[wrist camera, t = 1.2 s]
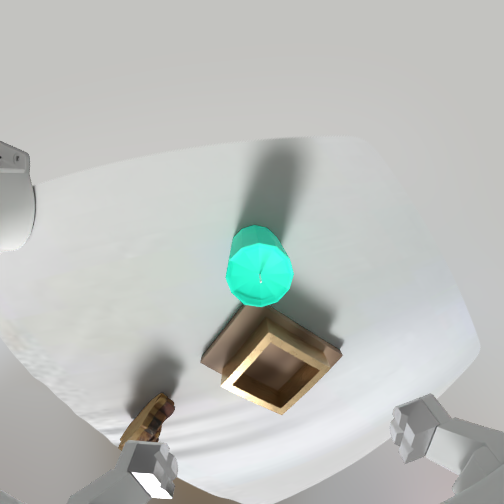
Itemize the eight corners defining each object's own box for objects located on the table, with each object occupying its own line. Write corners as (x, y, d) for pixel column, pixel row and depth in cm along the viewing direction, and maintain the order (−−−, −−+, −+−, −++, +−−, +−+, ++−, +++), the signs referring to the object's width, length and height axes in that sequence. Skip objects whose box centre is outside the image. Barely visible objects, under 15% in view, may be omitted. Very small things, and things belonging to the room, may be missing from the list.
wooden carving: (147, 434, 43) (134, 473, 34) (125, 422, 42) (109, 460, 33) (186, 387, 40) (174, 433, 31) (160, 372, 40) (143, 416, 30)
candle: (263, 215, 35) (273, 232, 23) (288, 256, 36) (309, 291, 24) (221, 242, 35) (210, 271, 24) (247, 281, 36) (249, 326, 25)
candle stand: (201, 356, 39) (196, 380, 34) (251, 293, 37) (252, 312, 31) (288, 401, 41) (293, 425, 36) (339, 349, 39) (351, 371, 34)
